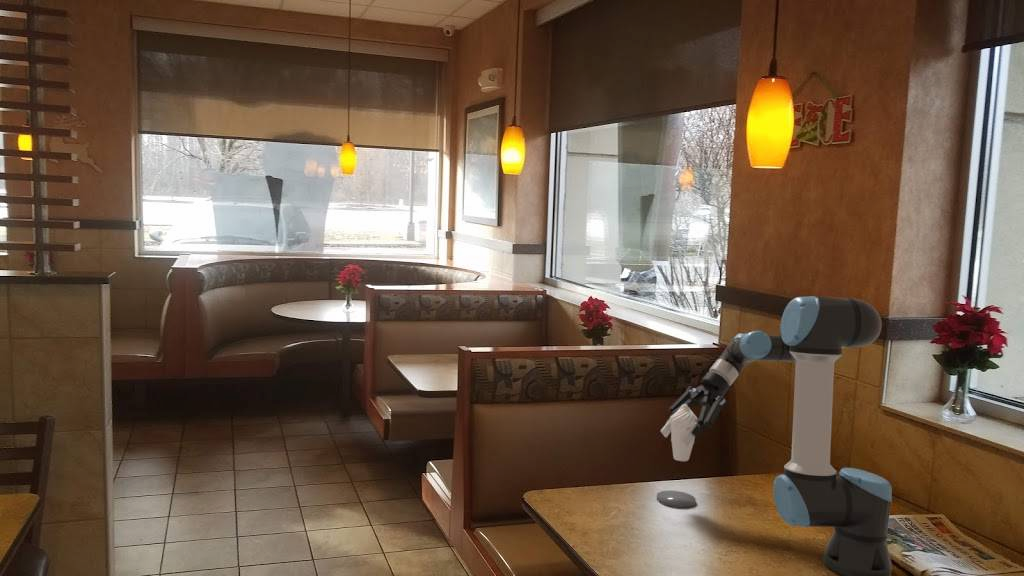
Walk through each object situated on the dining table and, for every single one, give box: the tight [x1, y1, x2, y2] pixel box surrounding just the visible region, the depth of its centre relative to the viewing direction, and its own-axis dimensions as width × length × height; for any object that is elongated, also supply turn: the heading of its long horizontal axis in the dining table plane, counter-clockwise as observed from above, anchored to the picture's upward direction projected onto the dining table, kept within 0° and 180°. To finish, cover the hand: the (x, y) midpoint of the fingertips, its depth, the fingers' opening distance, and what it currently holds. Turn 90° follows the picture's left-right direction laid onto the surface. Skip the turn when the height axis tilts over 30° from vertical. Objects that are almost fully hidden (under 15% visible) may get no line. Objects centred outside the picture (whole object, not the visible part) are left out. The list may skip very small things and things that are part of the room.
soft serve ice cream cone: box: [669, 404, 699, 462], centre depth 231 cm, size 8×8×16 cm
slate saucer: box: [656, 490, 697, 509], centre depth 233 cm, size 11×11×1 cm
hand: (673, 438), depth 229 cm, fingers closed on soft serve ice cream cone, 8 cm apart
